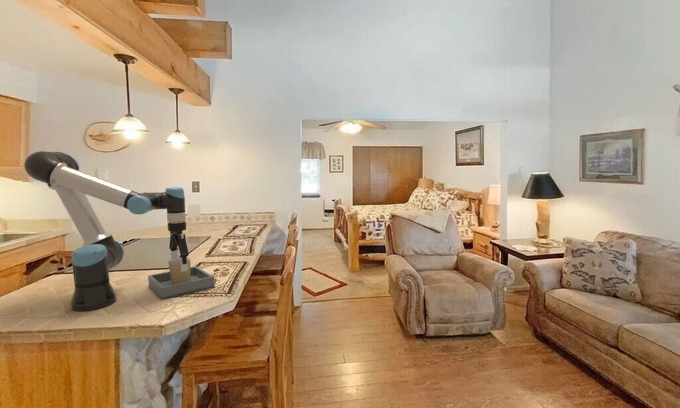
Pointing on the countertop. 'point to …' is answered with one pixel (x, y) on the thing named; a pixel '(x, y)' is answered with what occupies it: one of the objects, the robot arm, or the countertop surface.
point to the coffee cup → (178, 271)
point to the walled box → (167, 290)
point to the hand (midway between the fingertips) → (179, 267)
